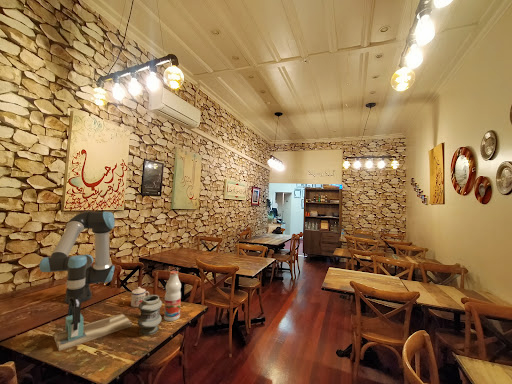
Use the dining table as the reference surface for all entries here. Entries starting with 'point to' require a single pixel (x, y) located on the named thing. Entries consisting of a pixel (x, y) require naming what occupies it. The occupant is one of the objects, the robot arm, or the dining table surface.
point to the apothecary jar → (149, 315)
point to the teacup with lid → (138, 296)
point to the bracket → (68, 327)
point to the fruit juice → (172, 298)
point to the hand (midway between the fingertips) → (72, 332)
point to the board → (93, 331)
